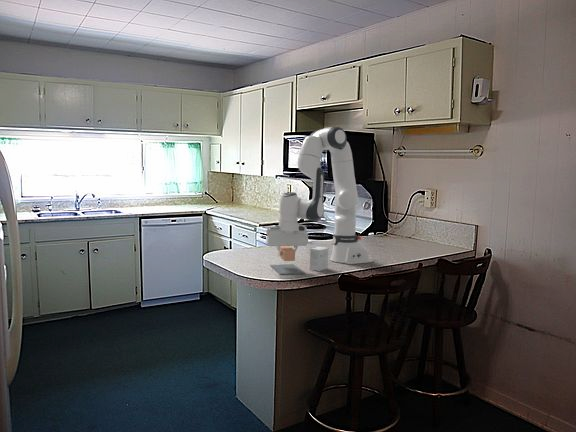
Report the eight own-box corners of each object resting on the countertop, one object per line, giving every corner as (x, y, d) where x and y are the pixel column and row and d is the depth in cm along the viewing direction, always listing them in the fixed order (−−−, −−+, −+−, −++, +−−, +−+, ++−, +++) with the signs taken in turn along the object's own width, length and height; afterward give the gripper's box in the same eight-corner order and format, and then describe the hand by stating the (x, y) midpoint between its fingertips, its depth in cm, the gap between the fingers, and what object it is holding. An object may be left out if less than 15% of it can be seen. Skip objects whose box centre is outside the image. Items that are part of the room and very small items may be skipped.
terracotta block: (288, 245, 241) (295, 250, 230) (287, 255, 242) (294, 260, 230) (278, 245, 240) (285, 250, 228) (278, 255, 241) (284, 261, 229)
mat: (293, 265, 246) (293, 264, 246) (304, 273, 229) (304, 272, 229) (270, 266, 243) (270, 264, 243) (280, 275, 226) (280, 273, 226)
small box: (318, 266, 244) (319, 246, 243) (328, 268, 241) (328, 247, 240) (309, 269, 238) (310, 248, 237) (318, 271, 235) (319, 250, 233)
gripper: (268, 227, 227) (267, 256, 229) (310, 227, 233) (308, 255, 235) (265, 225, 233) (264, 253, 235) (305, 225, 239) (304, 253, 241)
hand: (286, 254), depth 235 cm, fingers closed on terracotta block, 5 cm apart
